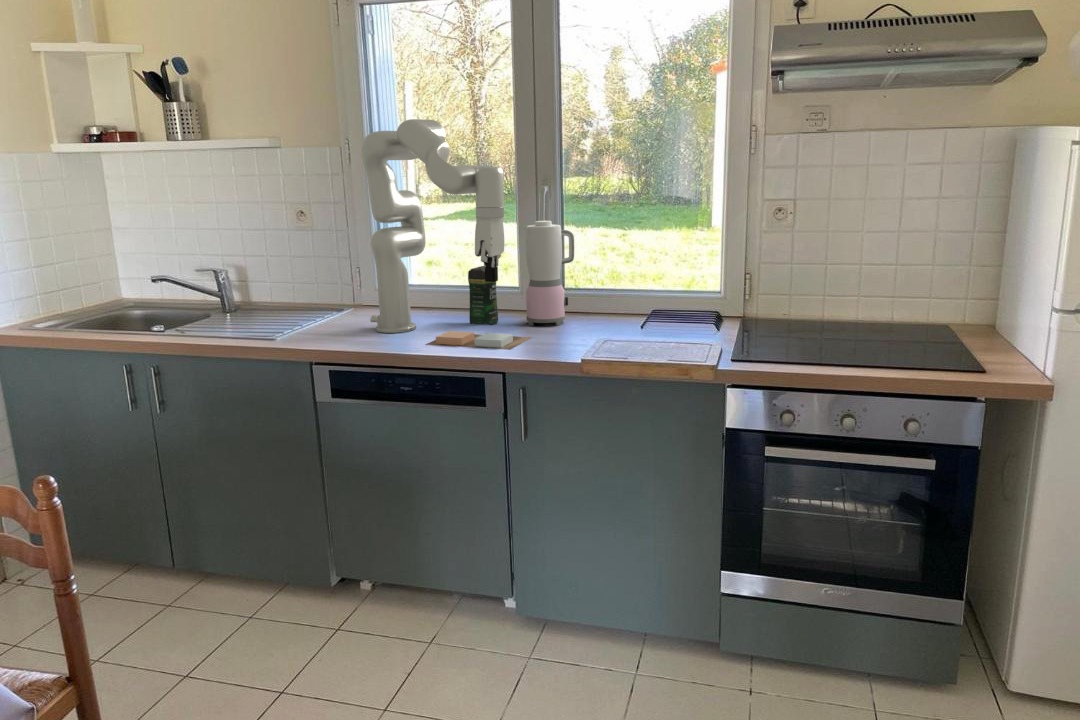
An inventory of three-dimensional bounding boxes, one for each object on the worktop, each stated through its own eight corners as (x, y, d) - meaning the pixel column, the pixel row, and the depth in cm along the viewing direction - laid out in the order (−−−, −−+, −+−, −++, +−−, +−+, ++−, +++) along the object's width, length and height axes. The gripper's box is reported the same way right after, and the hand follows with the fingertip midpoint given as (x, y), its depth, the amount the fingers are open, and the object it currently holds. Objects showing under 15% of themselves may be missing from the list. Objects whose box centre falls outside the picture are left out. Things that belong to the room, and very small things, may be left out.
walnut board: (425, 347, 229) (425, 344, 229) (451, 336, 244) (451, 332, 243) (510, 353, 220) (510, 349, 220) (532, 340, 234) (532, 337, 234)
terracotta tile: (449, 338, 236) (436, 344, 229) (449, 331, 235) (435, 336, 228) (474, 339, 233) (461, 345, 226) (474, 332, 233) (461, 338, 225)
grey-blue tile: (487, 340, 232) (474, 346, 224) (486, 333, 231) (474, 338, 224) (513, 341, 229) (501, 348, 222) (512, 334, 228) (501, 340, 221)
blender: (525, 327, 253) (522, 223, 246) (526, 319, 265) (523, 220, 258) (576, 326, 253) (574, 221, 246) (574, 318, 265) (573, 219, 258)
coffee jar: (488, 328, 254) (485, 268, 250) (466, 326, 258) (463, 267, 253) (502, 322, 263) (500, 264, 258) (481, 320, 266) (478, 264, 262)
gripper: (488, 211, 227) (490, 276, 232) (465, 215, 214) (467, 284, 219) (513, 211, 225) (514, 278, 229) (491, 216, 211) (492, 286, 216)
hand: (491, 281), depth 224 cm, fingers closed
